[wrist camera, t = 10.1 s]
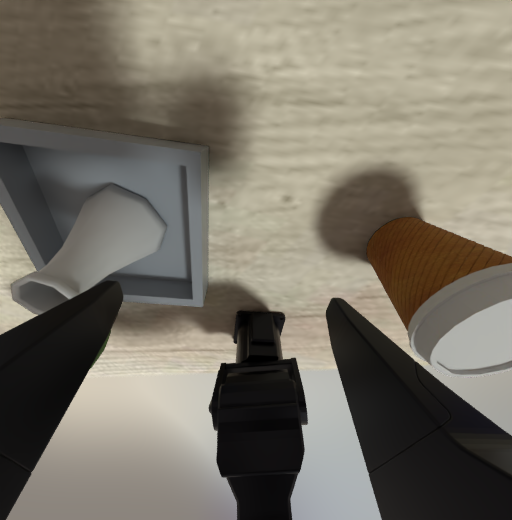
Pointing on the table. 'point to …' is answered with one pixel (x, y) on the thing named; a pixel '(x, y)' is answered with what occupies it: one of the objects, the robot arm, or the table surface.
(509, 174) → the table surface
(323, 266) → the table surface
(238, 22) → the table surface
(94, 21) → the table surface
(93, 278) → the flask
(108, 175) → the serving bin
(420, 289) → the disposable coffee cup
